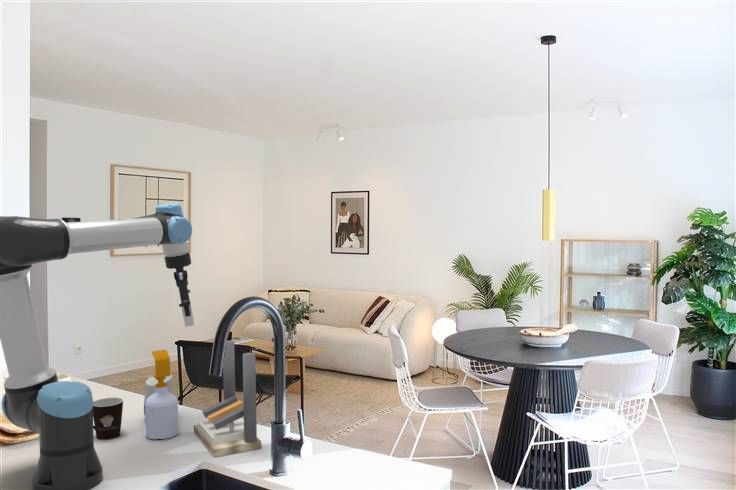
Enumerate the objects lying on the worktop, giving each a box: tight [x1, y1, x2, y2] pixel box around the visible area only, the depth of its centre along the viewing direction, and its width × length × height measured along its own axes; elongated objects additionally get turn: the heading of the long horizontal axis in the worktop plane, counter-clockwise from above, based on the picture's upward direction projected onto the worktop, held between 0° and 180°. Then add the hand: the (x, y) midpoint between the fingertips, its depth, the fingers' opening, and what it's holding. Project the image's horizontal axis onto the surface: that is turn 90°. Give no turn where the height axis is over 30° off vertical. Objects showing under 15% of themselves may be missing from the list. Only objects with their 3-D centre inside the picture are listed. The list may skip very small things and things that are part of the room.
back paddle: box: [202, 395, 238, 419], centre depth 179 cm, size 10×2×2 cm, turn 119°
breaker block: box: [197, 417, 244, 445], centre depth 174 cm, size 12×15×5 cm
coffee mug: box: [93, 397, 124, 441], centre depth 178 cm, size 12×9×10 cm
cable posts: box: [222, 340, 258, 443], centre depth 176 cm, size 3×22×24 cm, turn 29°
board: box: [193, 424, 262, 458], centre depth 175 cm, size 13×22×2 cm, turn 29°
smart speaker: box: [143, 373, 175, 416], centre depth 192 cm, size 10×9×14 cm
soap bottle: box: [144, 349, 180, 441], centre depth 178 cm, size 9×9×25 cm
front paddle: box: [212, 407, 244, 430], centre depth 169 cm, size 10×2×2 cm, turn 119°
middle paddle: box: [206, 400, 244, 424], centre depth 174 cm, size 10×2×2 cm, turn 119°
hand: (188, 319), depth 192 cm, fingers open, 13 cm apart
